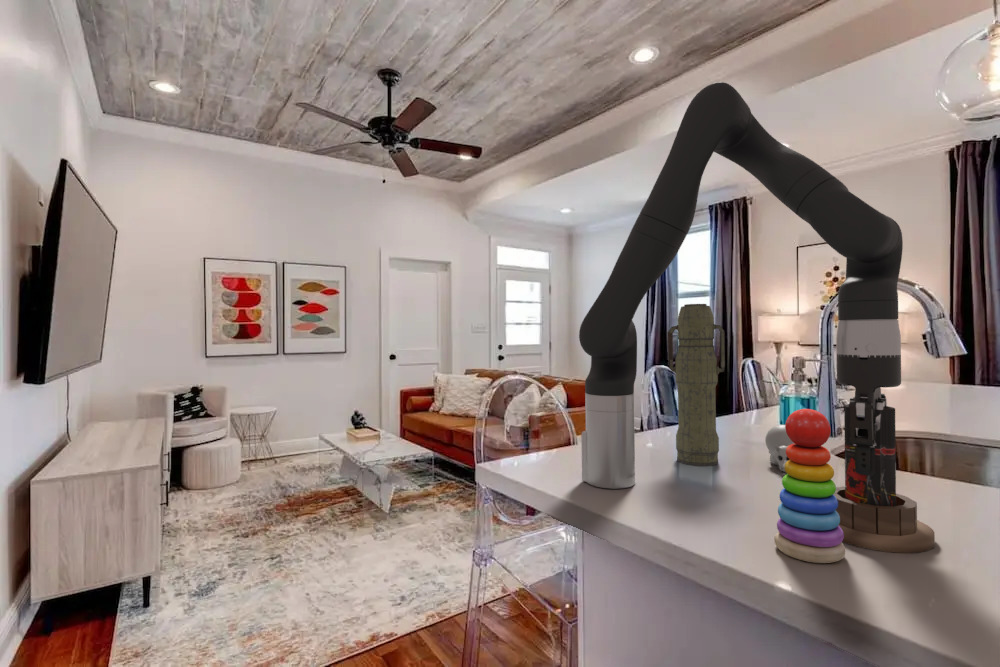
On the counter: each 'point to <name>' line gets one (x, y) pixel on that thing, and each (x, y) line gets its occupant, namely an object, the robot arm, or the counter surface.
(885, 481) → the deodorant
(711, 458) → the thermos
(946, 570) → the counter surface
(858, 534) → the socket stand
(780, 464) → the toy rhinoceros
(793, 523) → the stacking toy
